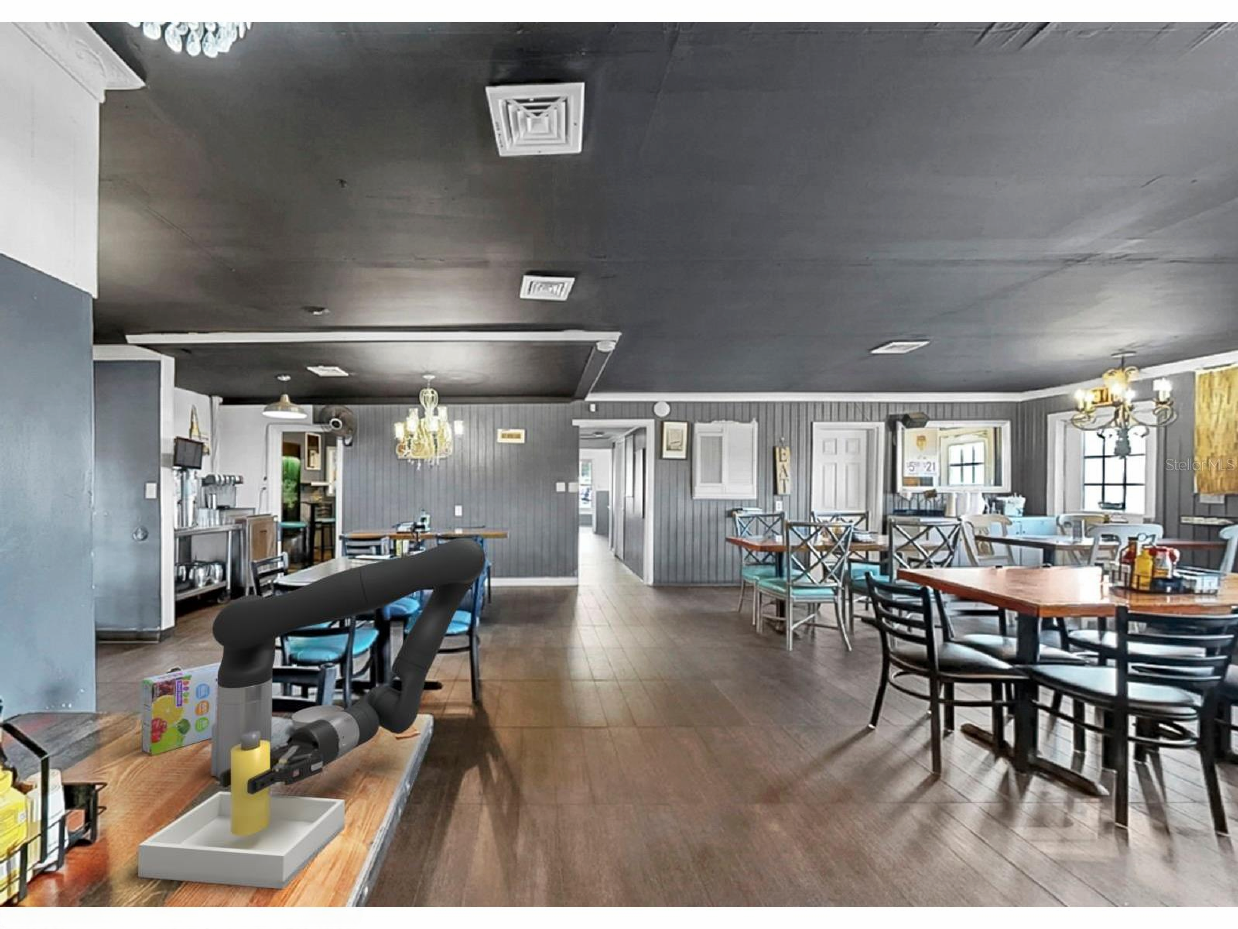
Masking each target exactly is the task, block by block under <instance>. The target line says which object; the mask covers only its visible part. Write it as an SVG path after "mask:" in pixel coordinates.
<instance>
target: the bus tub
mask: <svg viewBox="0 0 1238 929" xmlns="http://www.w3.org/2000/svg"><path fill="white" fill-rule="evenodd" d="M345 801H346V800H345V799H337V798H327V797H326V798H323V797H310V796H309V797H307V796H293V795H277V794H270V824H269V825H268V826H267V827H266V828H265V829H263V830H261V831H259V832H257V833H254V834H250V835H244V836H238V835H234V834H232V833H231V791H218V792H217V793H215V794H213V795H212V796H210V797H208V799H206V800H204V801H203V802H201V803H200V804H198V805H197V806H195V807H194V808H192V809H191V810H189V811H188V812H186V813H185V814H183V815H182V816H180V817H178V818H177V819H176V820H174V821H173V822H171V823H170V824H168V825H166V826H165V827H164V828H162V829H161V830H158V831H157V832H155V833H154V834H153V835H151V836H149V837H148V838H147V839H145V840H144V841H142V842H141V843H140V844H138V860H137V862H138V865H137V866H138V870H137V871H138V872H137V873H138V874H137V877H139V878H145V879H146V878H148V879H158V880H159V879H161V880H170V881H171V880H172V881H183V882H184V881H186V882H195V883H196V882H197V883H206V884H207V883H208V884H217V885H218V884H219V885H231V886H240V887H241V886H243V887H245V886H246V887H255V888H256V887H257V888H267V889H278V890H279V889H280V890H284V889H285V888H286V887H287V886H288V885H289V884H290V882H292V881H293V880H294V879H295V878H297V876H298V875H299V874H300V873H301V872H302V871H303V870H304V869H305V868H306V867H307V866H308V865H309V864H310V862H312V861H313V860H314V859H315V858H316V857H317V856H318V855H319V854H320V853H321V852H322V851H323V850H324V849H325V848H326V847H327V846H328V845H329V844H330V843H331V842H332V841H333V840H334V839H335V838H336V837H337V836H338V835H339V834H340V833H341V832H342V831H343V830H344V829H345V820H346V819H345V815H346V813H345V812H346V811H345V810H346V802H345ZM342 829H343V830H342Z"/></svg>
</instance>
